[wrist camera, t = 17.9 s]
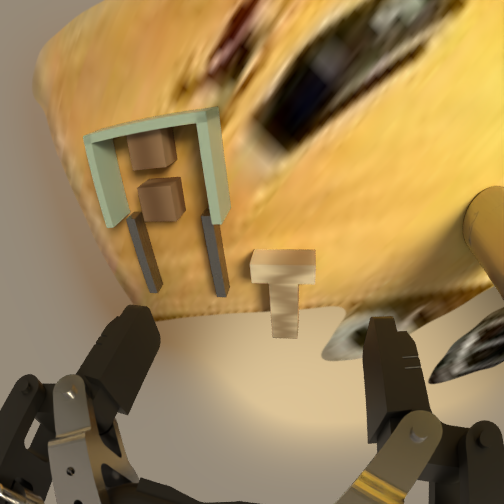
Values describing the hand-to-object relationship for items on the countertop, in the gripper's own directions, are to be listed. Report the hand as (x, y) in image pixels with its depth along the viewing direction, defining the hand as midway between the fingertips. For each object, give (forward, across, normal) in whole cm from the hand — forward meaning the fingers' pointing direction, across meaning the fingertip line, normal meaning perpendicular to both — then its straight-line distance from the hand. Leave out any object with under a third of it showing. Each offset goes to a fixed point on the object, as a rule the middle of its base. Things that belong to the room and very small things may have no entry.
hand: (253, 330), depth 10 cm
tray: (+22, +14, 0) cm, 26 cm away
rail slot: (+22, +14, +10) cm, 28 cm away
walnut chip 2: (+22, +14, +3) cm, 26 cm away
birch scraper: (+21, +1, +10) cm, 23 cm away
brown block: (+22, +14, -3) cm, 26 cm away
